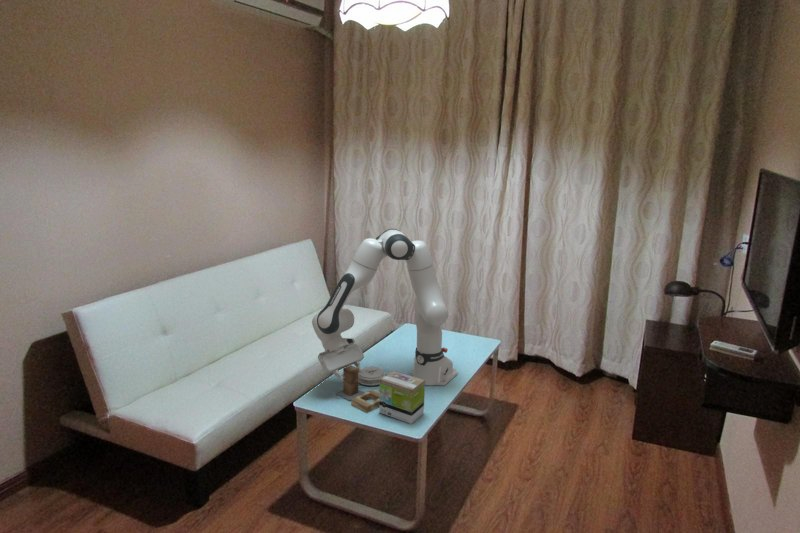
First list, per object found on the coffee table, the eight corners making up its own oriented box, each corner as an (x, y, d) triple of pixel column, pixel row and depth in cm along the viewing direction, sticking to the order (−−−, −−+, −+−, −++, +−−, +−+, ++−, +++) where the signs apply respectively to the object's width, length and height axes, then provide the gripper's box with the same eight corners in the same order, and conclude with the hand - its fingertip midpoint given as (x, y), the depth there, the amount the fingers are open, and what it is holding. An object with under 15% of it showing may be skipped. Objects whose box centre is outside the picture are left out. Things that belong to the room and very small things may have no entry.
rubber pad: (351, 387, 224) (351, 385, 224) (365, 394, 218) (365, 392, 218) (335, 394, 218) (335, 392, 217) (350, 401, 212) (350, 400, 212)
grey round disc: (389, 377, 234) (390, 367, 233) (378, 389, 223) (378, 379, 222) (364, 372, 239) (364, 362, 238) (351, 384, 227) (351, 373, 226)
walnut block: (351, 389, 221) (351, 365, 218) (358, 392, 218) (358, 368, 215) (343, 392, 218) (343, 368, 215) (350, 396, 215) (350, 371, 212)
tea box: (378, 413, 203) (378, 378, 199) (392, 403, 211) (392, 369, 208) (411, 425, 195) (412, 388, 192) (424, 413, 204) (425, 378, 200)
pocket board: (372, 394, 218) (372, 389, 217) (388, 402, 212) (388, 396, 211) (351, 404, 209) (351, 399, 208) (367, 412, 203) (367, 407, 203)
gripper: (319, 350, 210) (335, 380, 206) (356, 337, 225) (372, 365, 221) (312, 357, 214) (328, 387, 210) (349, 344, 229) (365, 371, 225)
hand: (351, 375), depth 216 cm, fingers open, 8 cm apart
